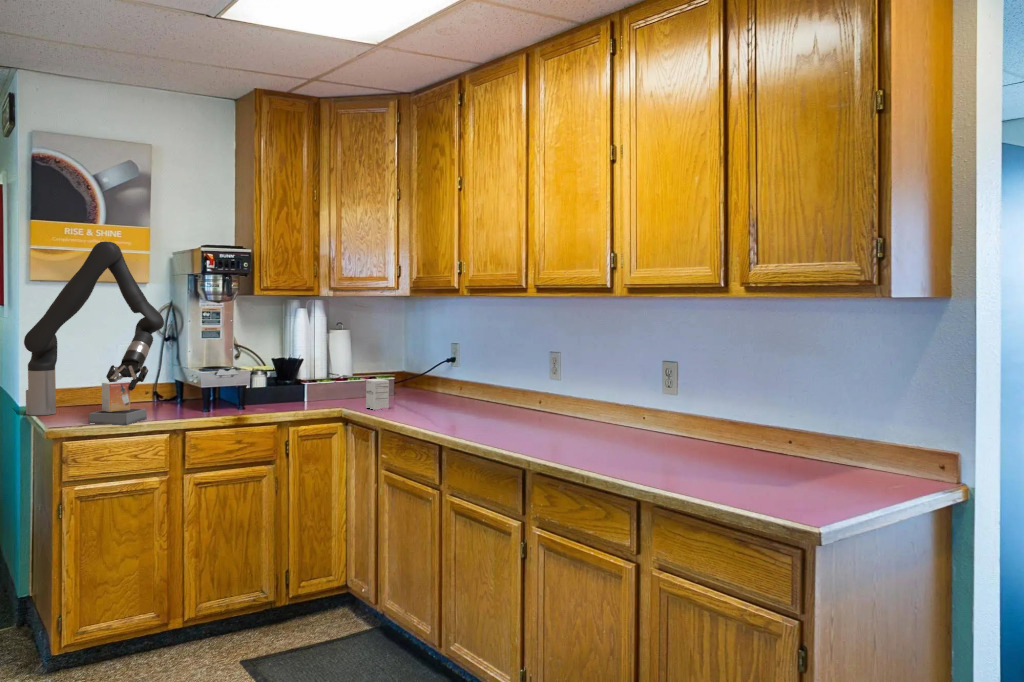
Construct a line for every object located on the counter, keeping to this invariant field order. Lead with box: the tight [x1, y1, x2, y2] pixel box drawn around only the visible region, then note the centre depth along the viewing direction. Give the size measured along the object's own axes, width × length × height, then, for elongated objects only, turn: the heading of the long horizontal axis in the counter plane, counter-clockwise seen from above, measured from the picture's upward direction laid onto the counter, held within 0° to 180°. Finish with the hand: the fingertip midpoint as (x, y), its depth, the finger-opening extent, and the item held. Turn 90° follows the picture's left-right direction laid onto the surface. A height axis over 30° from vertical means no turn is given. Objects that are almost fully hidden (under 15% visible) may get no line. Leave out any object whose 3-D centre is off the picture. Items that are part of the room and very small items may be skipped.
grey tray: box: [88, 407, 148, 426], centre depth 298 cm, size 14×14×4 cm
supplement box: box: [365, 378, 390, 410], centre depth 340 cm, size 7×7×13 cm
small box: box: [101, 380, 131, 412], centre depth 297 cm, size 8×6×10 cm
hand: (120, 389), depth 298 cm, fingers closed on small box, 7 cm apart
